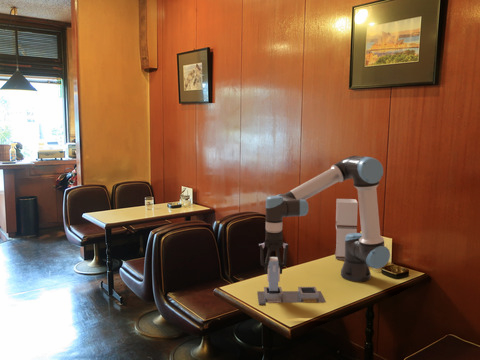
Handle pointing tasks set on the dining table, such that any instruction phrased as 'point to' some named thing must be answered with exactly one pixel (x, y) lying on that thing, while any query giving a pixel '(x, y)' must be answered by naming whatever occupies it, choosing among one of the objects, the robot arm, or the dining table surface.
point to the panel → (290, 296)
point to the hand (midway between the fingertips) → (273, 280)
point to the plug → (273, 274)
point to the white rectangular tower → (345, 223)
